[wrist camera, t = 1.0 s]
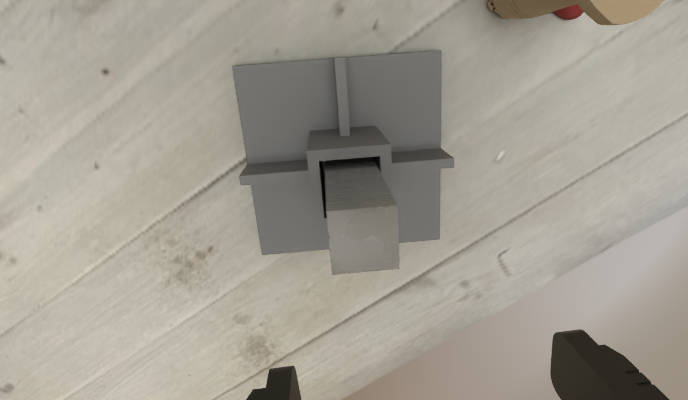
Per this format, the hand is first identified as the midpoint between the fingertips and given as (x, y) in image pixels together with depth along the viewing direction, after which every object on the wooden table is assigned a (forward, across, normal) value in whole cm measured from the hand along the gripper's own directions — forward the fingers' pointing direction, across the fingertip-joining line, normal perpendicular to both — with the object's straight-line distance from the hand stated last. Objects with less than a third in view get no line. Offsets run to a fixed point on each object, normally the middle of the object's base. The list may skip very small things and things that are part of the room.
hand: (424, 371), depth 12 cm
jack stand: (+28, +1, -1) cm, 28 cm away
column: (+26, +1, -1) cm, 26 cm away
